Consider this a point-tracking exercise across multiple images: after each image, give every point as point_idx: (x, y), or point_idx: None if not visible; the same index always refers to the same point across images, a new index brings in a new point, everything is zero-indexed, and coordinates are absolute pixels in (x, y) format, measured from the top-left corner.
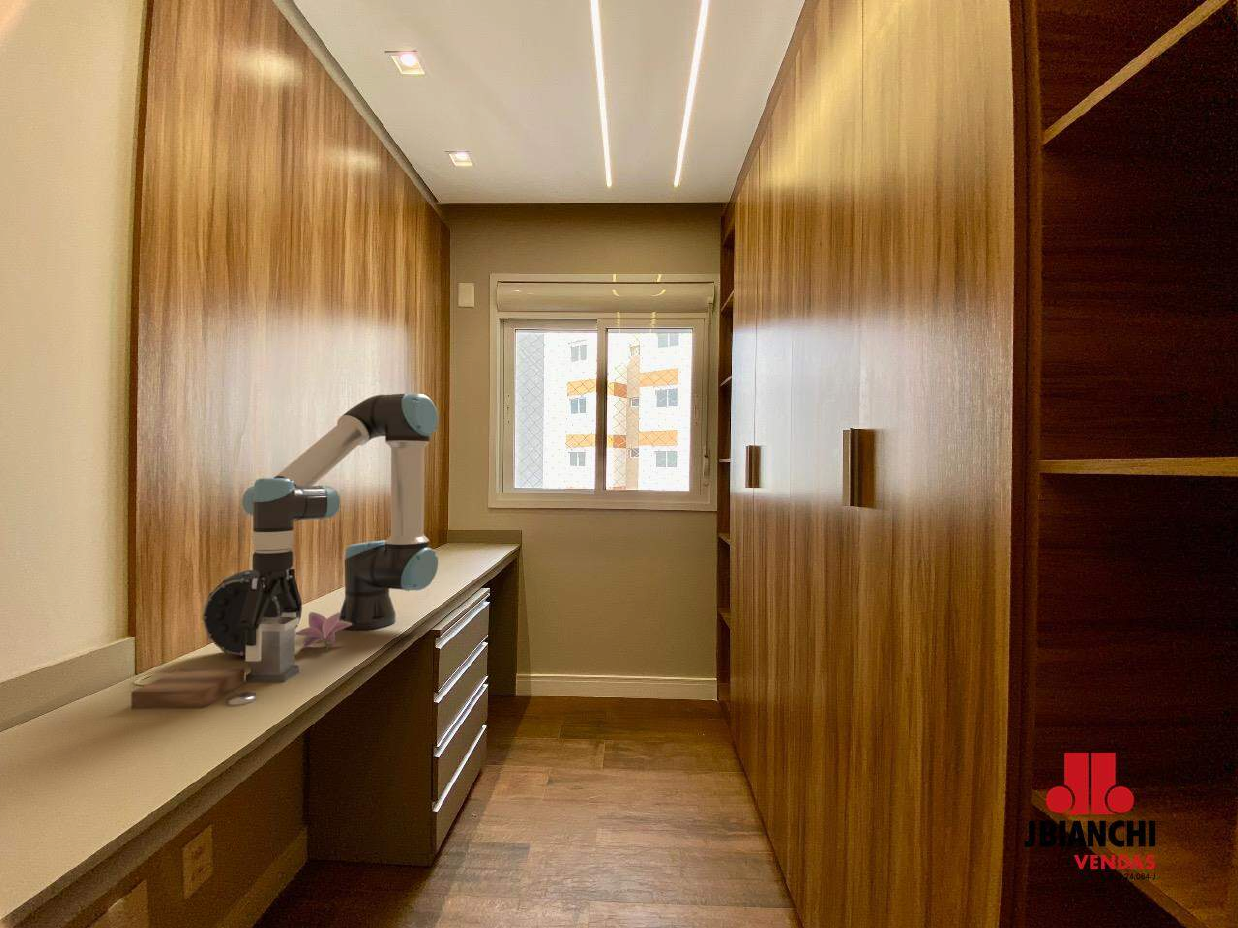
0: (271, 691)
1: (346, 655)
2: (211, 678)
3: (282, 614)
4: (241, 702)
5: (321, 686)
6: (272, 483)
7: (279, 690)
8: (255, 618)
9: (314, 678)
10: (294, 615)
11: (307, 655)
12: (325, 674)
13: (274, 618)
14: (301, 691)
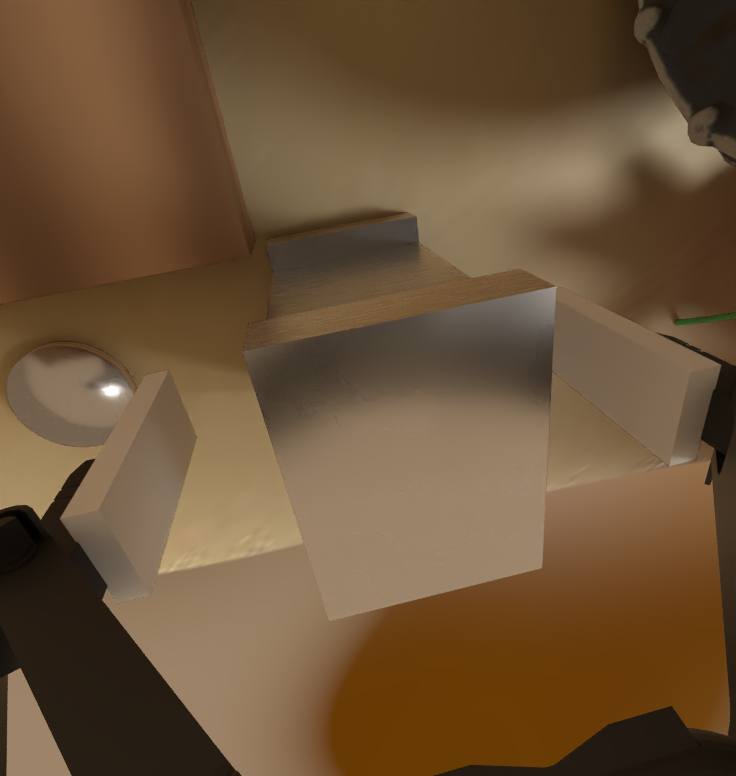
0: (202, 429)
1: None
2: (36, 200)
3: (677, 374)
4: (38, 431)
5: (294, 538)
6: None
7: (221, 447)
8: (1, 732)
9: None
10: (659, 452)
11: (649, 259)
12: None
13: (496, 442)
14: (235, 516)
